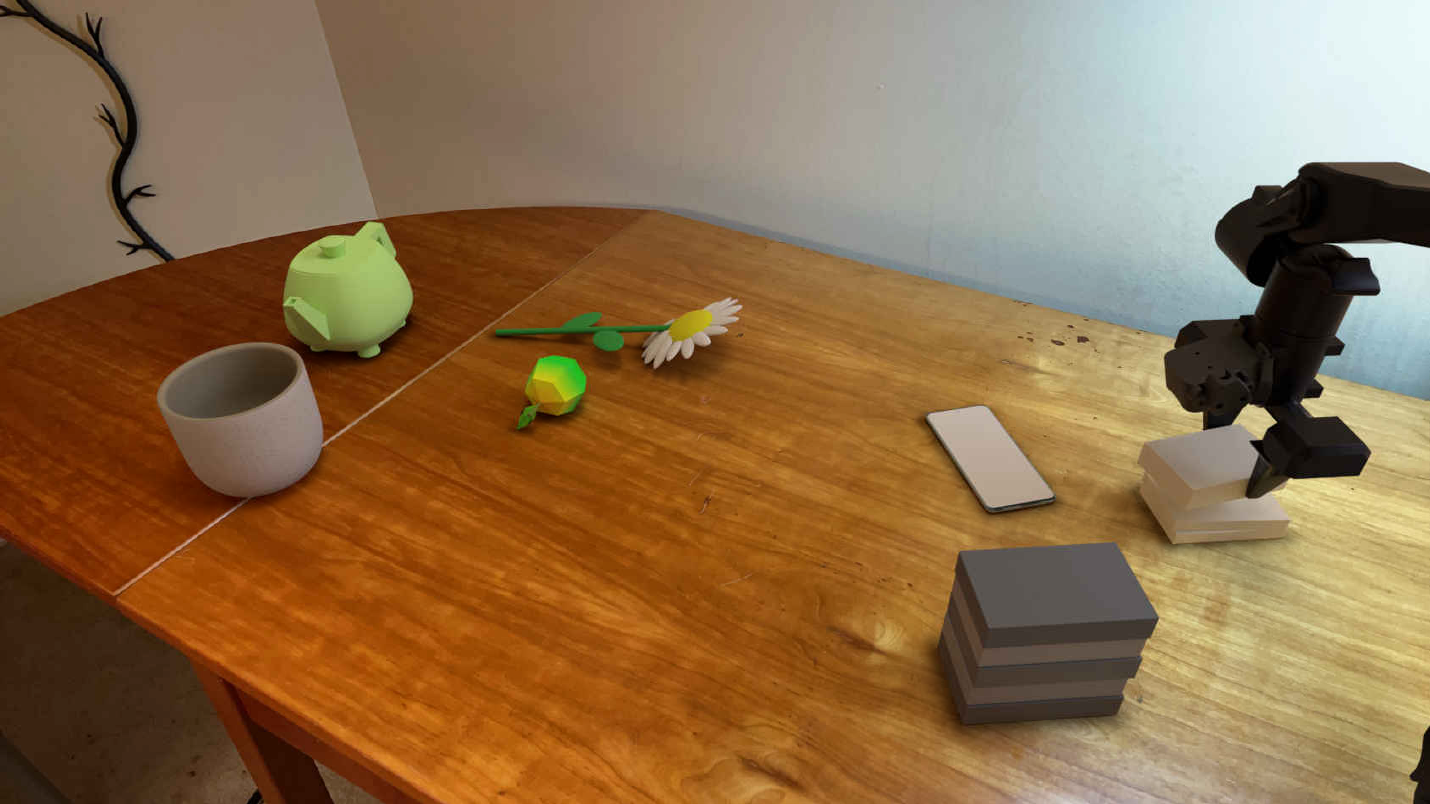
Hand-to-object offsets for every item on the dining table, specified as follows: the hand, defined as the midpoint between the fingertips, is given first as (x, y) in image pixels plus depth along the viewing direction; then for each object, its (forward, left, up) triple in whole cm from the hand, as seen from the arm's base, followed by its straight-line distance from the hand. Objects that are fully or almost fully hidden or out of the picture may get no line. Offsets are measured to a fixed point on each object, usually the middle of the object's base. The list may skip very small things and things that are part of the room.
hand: (1229, 469), depth 80 cm
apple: (+20, +61, -6) cm, 65 cm away
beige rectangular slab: (0, 0, -6) cm, 6 cm away
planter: (+13, +89, -6) cm, 90 cm away
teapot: (+37, +86, -6) cm, 94 cm away
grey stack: (-16, +23, -6) cm, 29 cm away
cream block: (0, +2, 0) cm, 2 cm away
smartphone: (+9, +18, -6) cm, 21 cm away
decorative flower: (+32, +55, -6) cm, 64 cm away
